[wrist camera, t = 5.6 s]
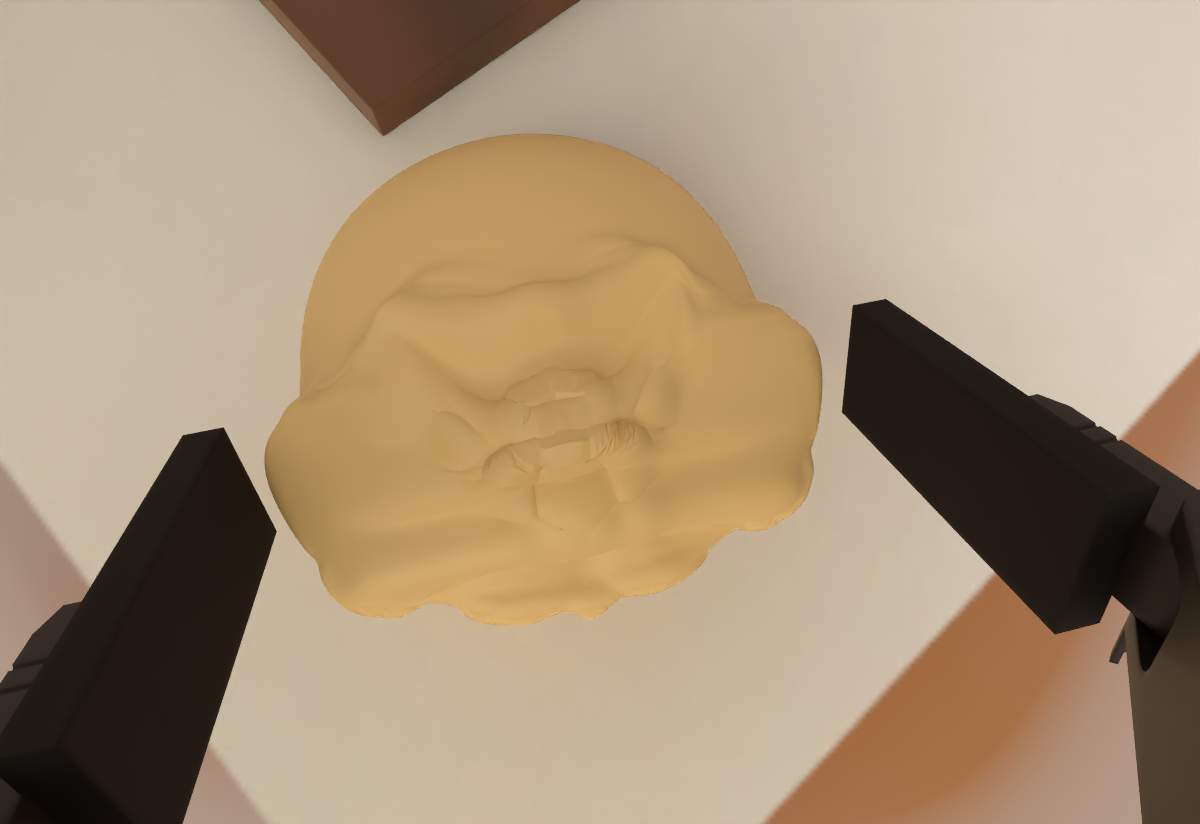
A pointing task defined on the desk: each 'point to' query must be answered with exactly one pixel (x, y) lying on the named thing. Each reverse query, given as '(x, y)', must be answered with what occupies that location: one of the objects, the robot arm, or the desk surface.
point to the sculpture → (536, 389)
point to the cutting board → (407, 45)
